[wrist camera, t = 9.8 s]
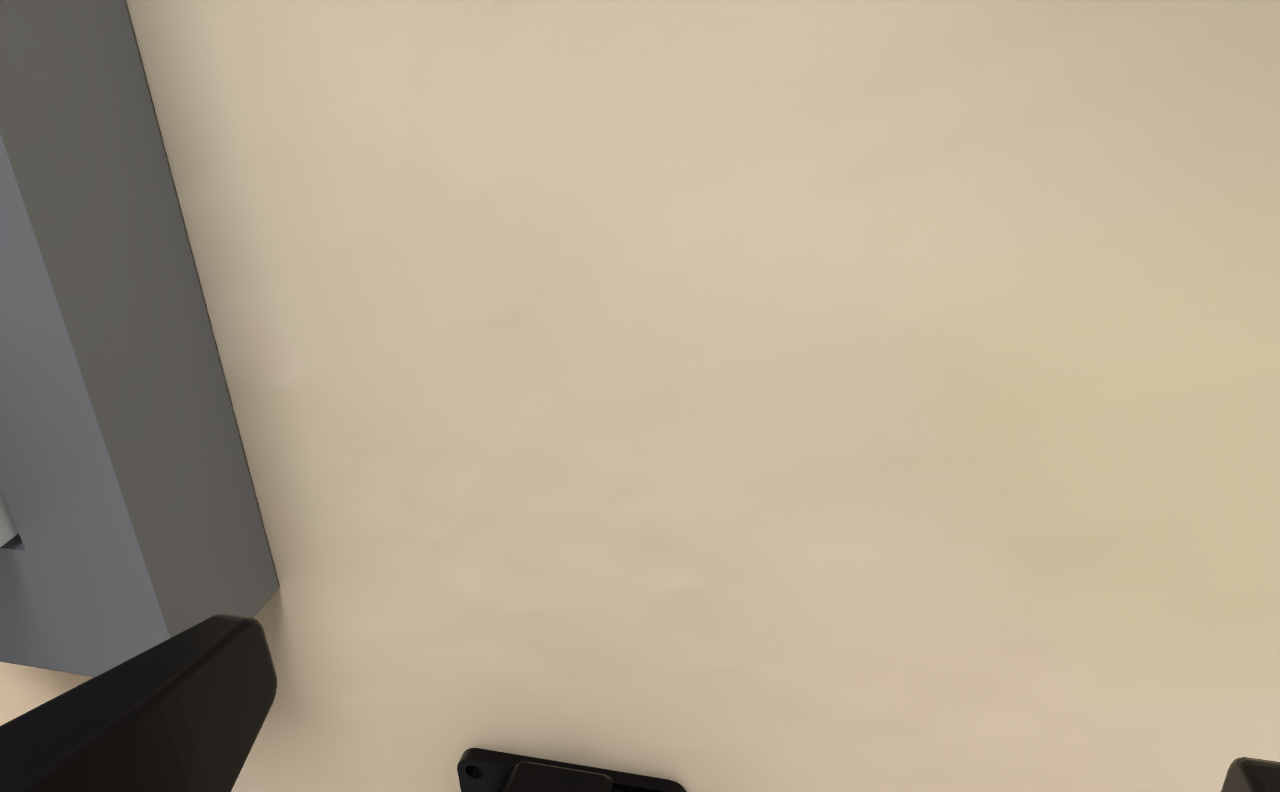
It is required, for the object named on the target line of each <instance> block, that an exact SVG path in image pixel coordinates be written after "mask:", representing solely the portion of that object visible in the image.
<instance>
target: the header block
mask: <svg viewBox="0 0 1280 792" xmlns="http://www.w3.org/2000/svg"><path fill="white" fill-rule="evenodd" d="M0 488H1V490H2V493H3V495H4V498H5V500H6V503H7V505H8V508H9V510H10V513H11V515H12V518H13V520H14V523H15V525H16V528H17V530H18V532H19V534H17V535H16V536H15V537H13V538H12V539H11V540H9V541H8V542H7V543H5V544H4V545H3V546H1V547H0V662H6V663H12V664H19V665H25V666H31V667H37V668H43V669H49V670H55V671H62V672H68V673H74V674H80V675H86V676H92V677H96V676H98V675H100V674H102V673H104V672H106V671H108V670H110V669H112V668H114V667H115V666H117V665H119V664H121V663H123V662H125V661H127V660H129V659H131V658H133V657H135V656H137V655H139V654H141V653H142V652H144V651H146V650H148V649H150V648H152V647H154V646H156V645H158V644H160V643H162V642H164V641H166V640H167V639H169V638H171V637H173V636H175V635H177V634H179V633H181V632H183V631H185V630H187V629H189V628H191V627H192V626H194V625H196V624H198V623H200V622H202V621H204V620H206V619H208V618H210V617H212V616H214V615H217V614H233V615H240V616H247V617H252V618H253V617H254V616H255V615H256V614H257V612H258V611H259V610H260V609H261V608H262V607H263V606H264V604H265V603H266V602H267V601H268V600H269V599H270V597H271V596H272V595H273V594H274V593H275V592H276V591H277V589H278V588H279V584H278V580H277V577H276V573H275V569H274V565H273V561H272V558H271V554H270V550H269V546H268V542H267V539H266V535H265V531H264V527H263V523H262V520H261V516H260V512H259V508H258V504H257V501H256V497H255V493H254V489H253V485H252V482H251V478H250V474H249V470H248V466H247V462H246V459H245V455H244V451H243V447H242V443H241V440H240V436H239V432H238V428H237V424H236V421H235V417H234V413H233V409H232V405H231V402H230V398H229V394H228V390H227V386H226V383H225V379H224V375H223V371H222V367H221V364H220V360H219V356H218V352H217V348H216V345H215V341H214V337H213V333H212V329H211V326H210V322H209V318H208V314H207V310H206V307H205V303H204V299H203V295H202V291H201V288H200V284H199V280H198V276H197V272H196V269H195V265H194V261H193V257H192V253H191V250H190V246H189V242H188V238H187V234H186V231H185V227H184V223H183V219H182V215H181V211H180V208H179V204H178V200H177V196H176V192H175V189H174V185H173V181H172V177H171V173H170V170H169V166H168V162H167V158H166V154H165V151H164V147H163V143H162V139H161V135H160V132H159V128H158V124H157V120H156V116H155V113H154V109H153V105H152V101H151V97H150V94H149V90H148V86H147V82H146V78H145V75H144V71H143V67H142V63H141V59H140V56H139V52H138V48H137V44H136V40H135V37H134V33H133V29H132V25H131V21H130V18H129V14H128V10H127V6H126V2H125V0H0Z"/></svg>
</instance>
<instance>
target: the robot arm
mask: <svg viewBox="0 0 1280 792" xmlns="http://www.w3.org/2000/svg"><path fill="white" fill-rule="evenodd" d="M276 688H277V677H276V672H275V669H274V665H273V662H272V658H271V655H270V651H269V647H268V644H267V640H266V637H265V633H264V630H263V627H262V625H261V624H260V623H259V622H258V620H257V619H254V618H252V617H247V616H240V615H233V614H217V615H214V616H212V617H210V618H208V619H206V620H204V621H202V622H200V623H198V624H196V625H194V626H192V627H191V628H189V629H187V630H185V631H183V632H181V633H179V634H177V635H175V636H173V637H171V638H169V639H167V640H166V641H164V642H162V643H160V644H158V645H156V646H154V647H152V648H150V649H148V650H146V651H144V652H142V653H141V654H139V655H137V656H135V657H133V658H131V659H129V660H127V661H125V662H123V663H121V664H119V665H117V666H115V667H114V668H112V669H110V670H108V671H106V672H104V673H102V674H100V675H98V676H96V677H94V678H92V679H90V680H88V681H87V682H85V683H83V684H81V685H79V686H77V687H75V688H73V689H71V690H69V691H67V692H65V693H63V694H61V695H60V696H58V697H56V698H54V699H52V700H50V701H48V702H46V703H44V704H42V705H40V706H38V707H36V708H34V709H33V710H31V711H29V712H27V713H25V714H23V715H21V716H19V717H17V718H15V719H13V720H11V721H9V722H8V723H6V724H4V725H2V726H0V792H231V790H232V788H233V786H234V784H235V782H236V780H237V777H238V775H239V773H240V771H241V769H242V767H243V765H244V763H245V761H246V758H247V756H248V754H249V752H250V750H251V748H252V746H253V744H254V742H255V739H256V737H257V735H258V733H259V731H260V729H261V727H262V725H263V723H264V720H265V718H266V716H267V714H268V712H269V710H270V708H271V706H272V703H273V701H274V698H275V694H276ZM457 770H458V776H459V781H460V787H461V792H686V790H685V789H684V788H683V787H682V786H681V785H680V784H678V783H677V782H674V781H671V780H667V779H661V778H655V777H649V776H643V775H637V774H630V773H624V772H618V771H612V770H606V769H600V768H594V767H588V766H582V765H576V764H570V763H564V762H558V761H552V760H545V759H539V758H533V757H527V756H521V755H515V754H509V753H503V752H497V751H491V750H485V749H479V748H470V749H468V750H466V751H465V752H464V753H463V755H462V757H461V759H460V761H459V763H458V767H457ZM1221 792H1280V762H1275V761H1268V760H1261V759H1254V758H1247V757H1242V758H1237V759H1235V760H1234V761H1233V762H1232V764H1231V765H1230V767H1229V769H1228V772H1227V775H1226V778H1225V781H1224V784H1223V788H1222V791H1221Z"/></svg>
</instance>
